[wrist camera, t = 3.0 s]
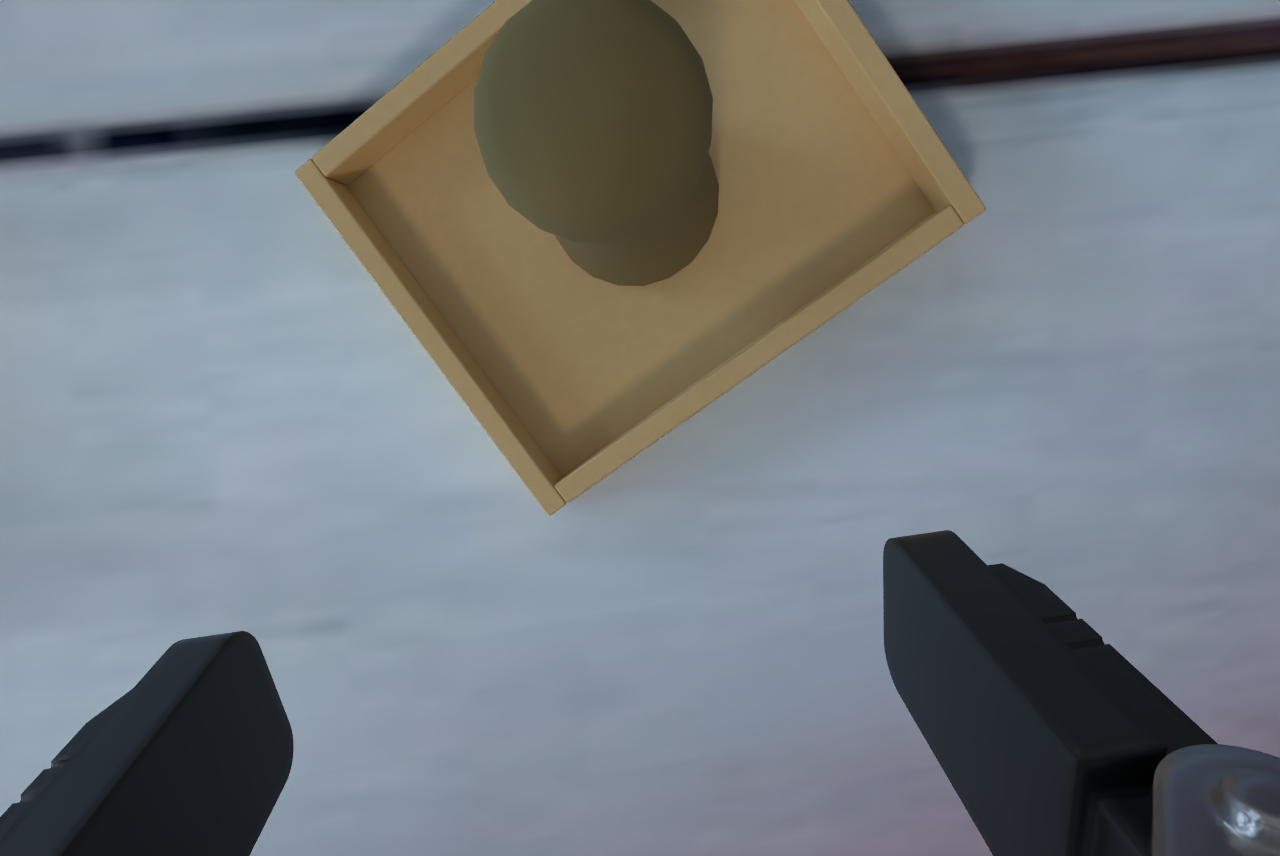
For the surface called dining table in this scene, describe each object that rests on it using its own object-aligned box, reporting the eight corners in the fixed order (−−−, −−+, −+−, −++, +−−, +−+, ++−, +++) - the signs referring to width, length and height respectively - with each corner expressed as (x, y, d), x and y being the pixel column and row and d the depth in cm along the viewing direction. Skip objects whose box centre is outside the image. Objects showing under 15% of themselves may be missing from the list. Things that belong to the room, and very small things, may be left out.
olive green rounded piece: (560, 297, 25) (458, 274, 14) (535, 122, 24) (406, -42, 14) (729, 273, 25) (754, 230, 14) (708, 93, 24) (717, -103, 13)
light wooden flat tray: (559, 503, 27) (548, 517, 25) (323, 184, 26) (292, 172, 24) (964, 218, 24) (987, 208, 22) (718, -148, 23) (721, -193, 21)
